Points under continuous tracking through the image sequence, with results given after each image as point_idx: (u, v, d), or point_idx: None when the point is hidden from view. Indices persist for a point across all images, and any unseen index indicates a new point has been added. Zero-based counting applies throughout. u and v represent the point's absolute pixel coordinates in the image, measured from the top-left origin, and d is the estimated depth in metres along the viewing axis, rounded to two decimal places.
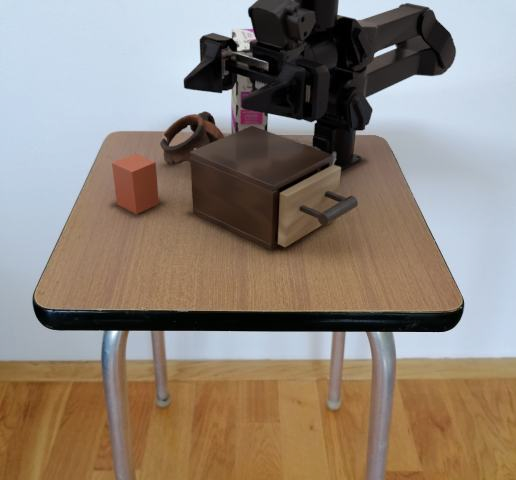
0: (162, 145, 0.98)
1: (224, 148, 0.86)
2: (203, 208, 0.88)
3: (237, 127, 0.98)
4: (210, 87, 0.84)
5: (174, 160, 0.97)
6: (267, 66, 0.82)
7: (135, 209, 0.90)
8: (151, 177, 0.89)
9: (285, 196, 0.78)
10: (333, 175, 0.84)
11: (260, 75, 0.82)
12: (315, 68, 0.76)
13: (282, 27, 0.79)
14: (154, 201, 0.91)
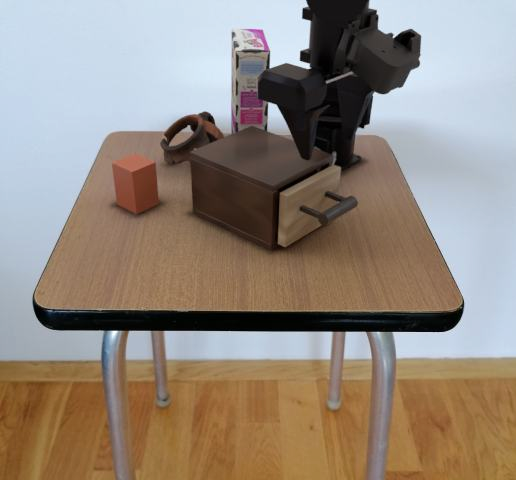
0: (162, 145, 0.98)
1: (224, 148, 0.86)
2: (203, 208, 0.88)
3: (237, 127, 0.98)
4: None
5: (174, 160, 0.97)
6: None
7: (135, 209, 0.90)
8: (151, 177, 0.89)
9: (285, 196, 0.78)
10: (333, 175, 0.84)
11: None
12: None
13: None
14: (154, 201, 0.91)
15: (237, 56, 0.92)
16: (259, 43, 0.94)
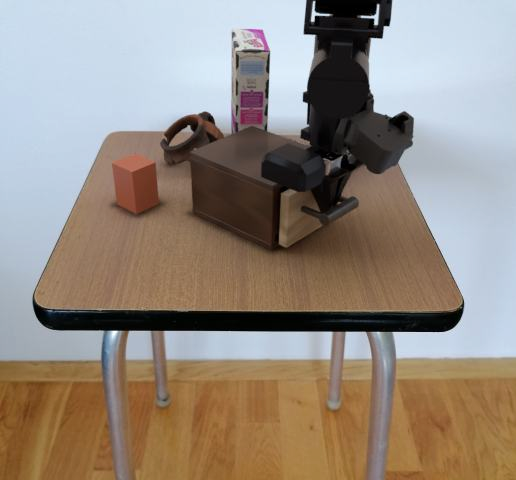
0: (162, 145, 0.98)
1: (224, 148, 0.86)
2: (203, 208, 0.88)
3: (237, 127, 0.98)
4: None
5: (174, 160, 0.97)
6: None
7: (135, 209, 0.90)
8: (151, 177, 0.89)
9: (286, 197, 0.78)
10: None
11: None
12: None
13: None
14: (154, 201, 0.91)
15: (237, 56, 0.92)
16: (259, 43, 0.94)
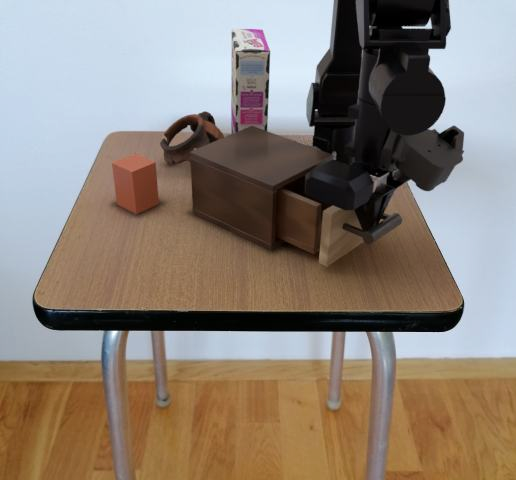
0: (162, 145, 0.98)
1: (224, 148, 0.86)
2: (203, 208, 0.88)
3: (237, 127, 0.98)
4: None
5: (174, 160, 0.97)
6: None
7: (135, 209, 0.90)
8: (151, 177, 0.89)
9: (329, 214, 0.75)
10: None
11: None
12: None
13: None
14: (154, 201, 0.91)
15: (237, 56, 0.92)
16: (259, 43, 0.94)
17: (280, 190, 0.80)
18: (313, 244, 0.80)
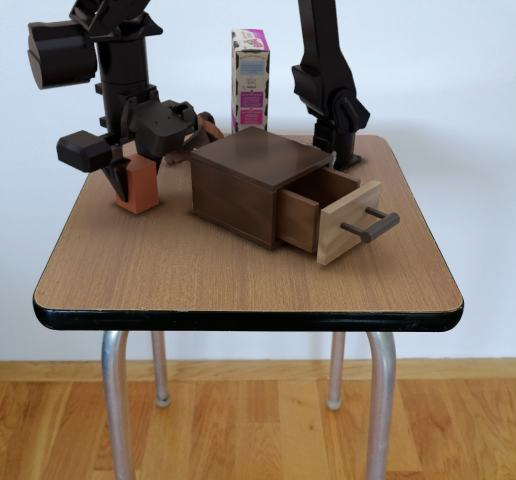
0: None
1: (224, 148, 0.86)
2: (203, 208, 0.88)
3: (237, 127, 0.98)
4: None
5: (174, 160, 0.97)
6: None
7: (135, 209, 0.90)
8: (151, 177, 0.89)
9: (327, 213, 0.75)
10: (374, 191, 0.81)
11: None
12: (197, 128, 0.90)
13: None
14: (154, 201, 0.91)
15: (237, 56, 0.92)
16: (259, 43, 0.94)
17: (278, 189, 0.80)
18: (311, 243, 0.80)
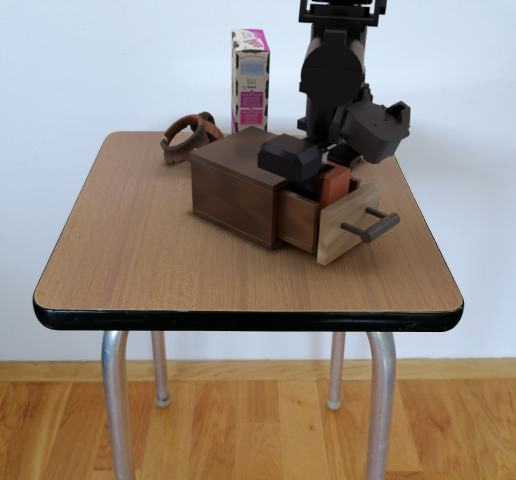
0: (162, 145, 0.98)
1: (224, 148, 0.86)
2: (203, 208, 0.88)
3: (237, 127, 0.98)
4: None
5: (174, 160, 0.97)
6: None
7: None
8: (344, 186, 0.80)
9: (327, 213, 0.75)
10: (374, 191, 0.81)
11: None
12: None
13: None
14: None
15: (237, 56, 0.92)
16: (259, 43, 0.94)
17: (278, 189, 0.80)
18: (311, 243, 0.80)
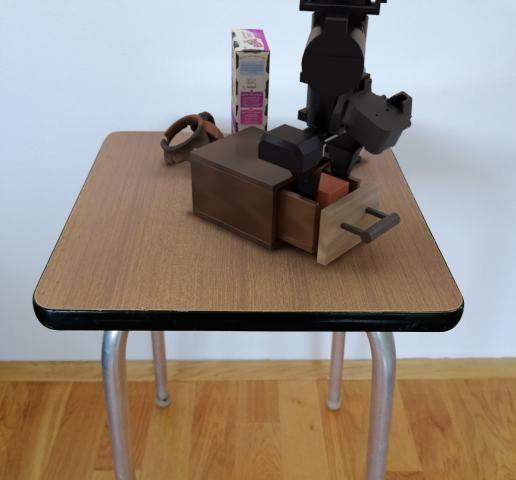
0: (162, 145, 0.98)
1: (224, 148, 0.86)
2: (203, 208, 0.88)
3: (237, 127, 0.98)
4: None
5: (174, 160, 0.97)
6: None
7: None
8: None
9: (327, 213, 0.75)
10: (374, 191, 0.81)
11: None
12: None
13: None
14: None
15: (237, 56, 0.92)
16: (259, 43, 0.94)
17: (278, 189, 0.80)
18: (311, 243, 0.80)
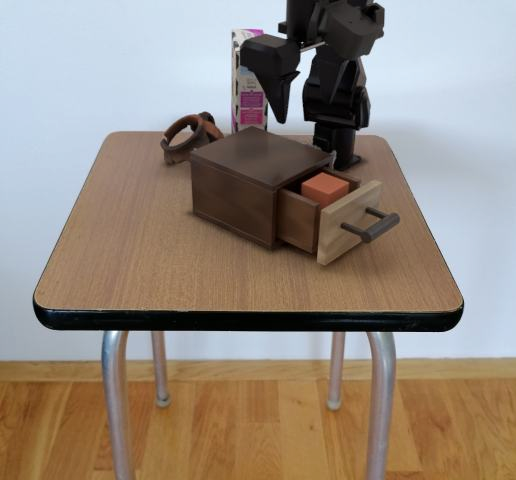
0: (162, 145, 0.98)
1: (224, 148, 0.86)
2: (203, 208, 0.88)
3: (237, 127, 0.98)
4: None
5: (174, 160, 0.97)
6: None
7: None
8: None
9: (327, 213, 0.75)
10: (374, 191, 0.81)
11: None
12: None
13: None
14: None
15: (237, 56, 0.92)
16: None
17: (278, 189, 0.80)
18: (311, 243, 0.80)
